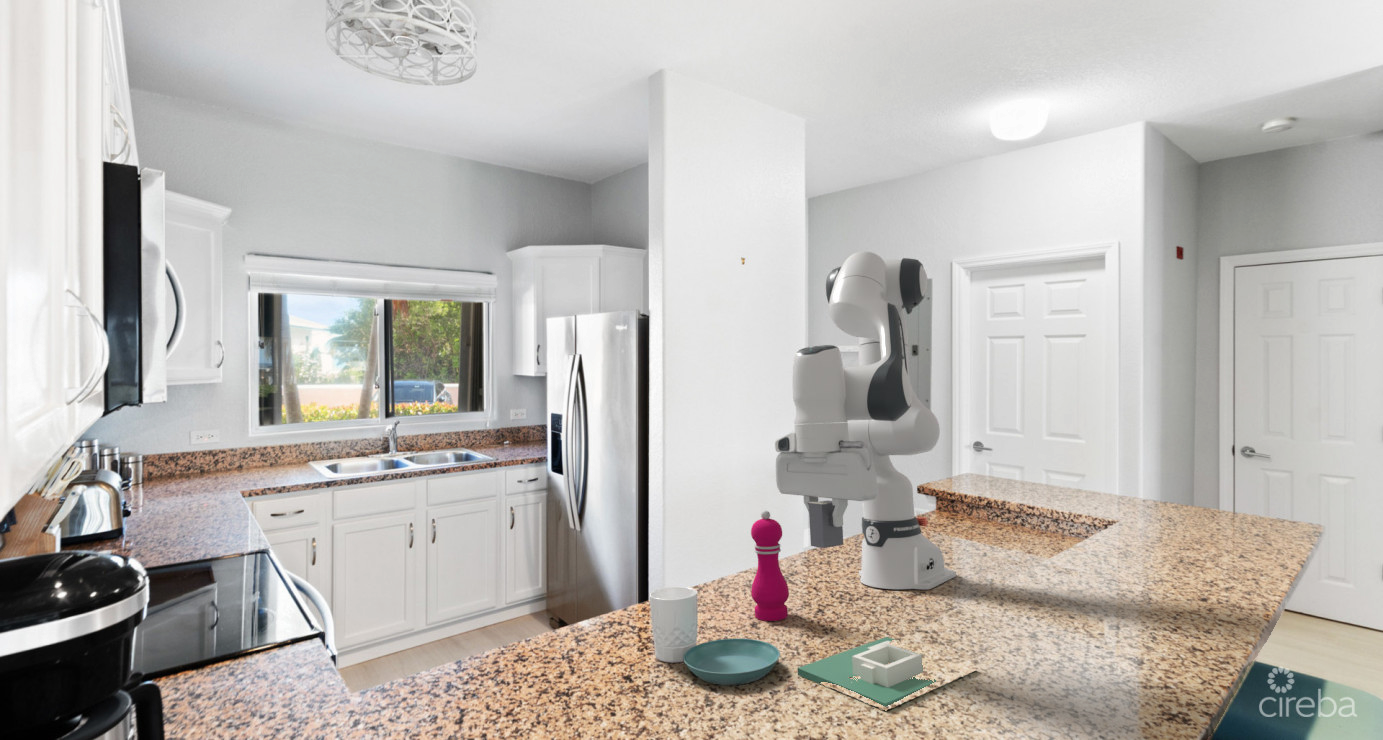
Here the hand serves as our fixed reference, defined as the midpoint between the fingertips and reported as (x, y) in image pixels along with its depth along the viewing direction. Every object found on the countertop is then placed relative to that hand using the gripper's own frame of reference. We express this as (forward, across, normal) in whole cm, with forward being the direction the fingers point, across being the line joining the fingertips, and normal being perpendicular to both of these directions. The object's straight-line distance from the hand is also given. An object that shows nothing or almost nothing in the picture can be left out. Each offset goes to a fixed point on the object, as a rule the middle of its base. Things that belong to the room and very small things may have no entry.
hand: (826, 524), depth 108 cm
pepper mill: (+20, +20, -4) cm, 28 cm away
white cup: (+20, +14, +21) cm, 33 cm away
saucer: (+20, +3, +18) cm, 28 cm away
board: (+20, -12, +2) cm, 23 cm away
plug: (+3, 0, 0) cm, 3 cm away
